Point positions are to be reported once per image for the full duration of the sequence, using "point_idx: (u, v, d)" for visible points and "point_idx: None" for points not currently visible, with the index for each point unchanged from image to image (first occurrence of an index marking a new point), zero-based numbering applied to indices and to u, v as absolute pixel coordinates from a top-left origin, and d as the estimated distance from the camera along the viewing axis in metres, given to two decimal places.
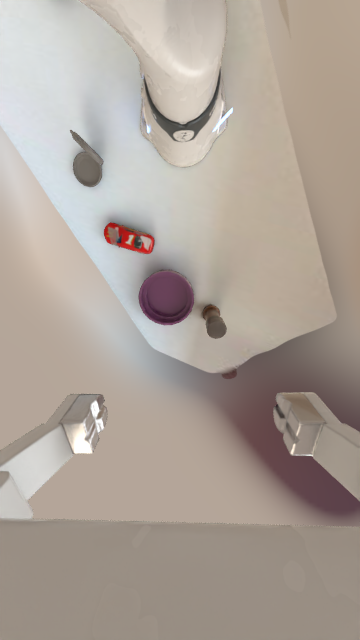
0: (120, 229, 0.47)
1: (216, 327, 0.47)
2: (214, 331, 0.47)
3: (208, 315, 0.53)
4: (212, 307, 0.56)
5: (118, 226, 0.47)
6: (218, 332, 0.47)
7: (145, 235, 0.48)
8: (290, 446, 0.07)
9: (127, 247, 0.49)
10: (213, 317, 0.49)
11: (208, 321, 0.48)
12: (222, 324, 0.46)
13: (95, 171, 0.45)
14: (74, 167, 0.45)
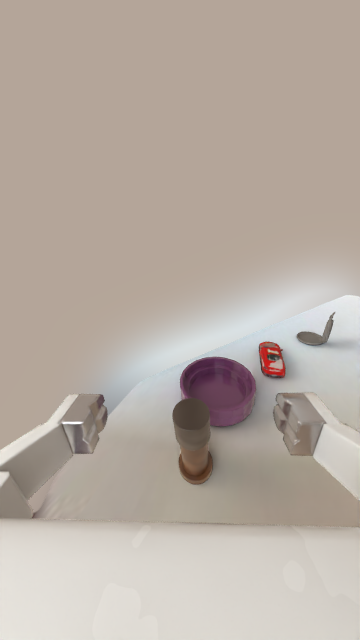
0: (277, 348, 0.49)
1: (196, 411, 0.24)
2: (187, 409, 0.25)
3: None
4: (210, 461, 0.29)
5: (279, 348, 0.50)
6: (185, 416, 0.24)
7: (283, 364, 0.44)
8: (290, 446, 0.07)
9: (263, 352, 0.48)
10: None
11: None
12: (203, 421, 0.23)
13: (312, 342, 0.55)
14: (305, 332, 0.59)
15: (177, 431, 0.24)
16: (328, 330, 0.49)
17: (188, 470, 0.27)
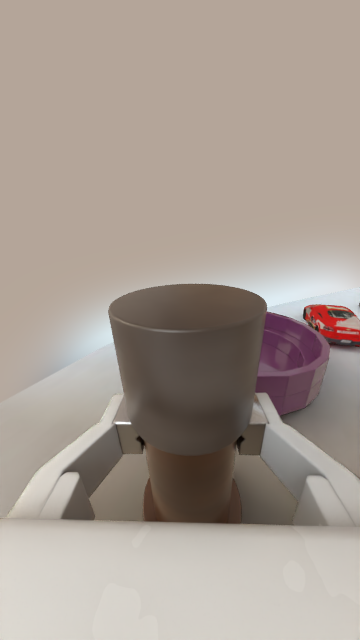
0: None
1: (207, 297, 0.06)
2: (175, 294, 0.07)
3: None
4: (234, 501, 0.10)
5: None
6: (163, 303, 0.06)
7: None
8: (238, 445, 0.08)
9: (316, 311, 0.29)
10: None
11: None
12: (244, 310, 0.05)
13: None
14: None
15: (119, 358, 0.05)
16: None
17: None
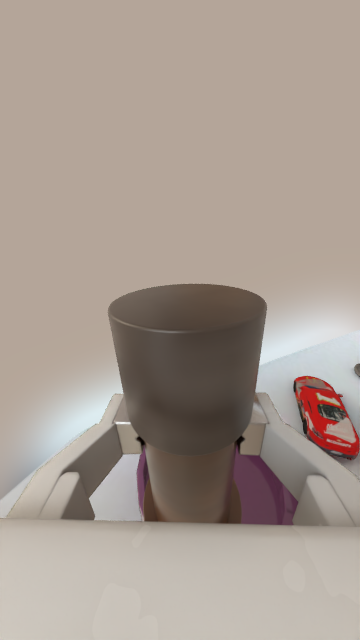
0: (332, 391, 0.27)
1: (207, 297, 0.06)
2: (175, 294, 0.07)
3: None
4: (234, 501, 0.10)
5: (334, 391, 0.28)
6: (163, 303, 0.06)
7: (355, 431, 0.22)
8: (239, 445, 0.08)
9: (306, 397, 0.27)
10: None
11: None
12: (244, 310, 0.05)
13: None
14: None
15: (119, 359, 0.05)
16: None
17: None
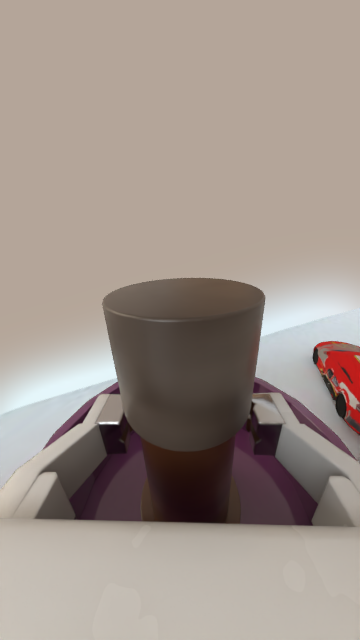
0: None
1: (204, 289, 0.06)
2: (172, 287, 0.07)
3: None
4: (233, 499, 0.10)
5: None
6: (159, 295, 0.06)
7: None
8: (253, 446, 0.07)
9: (338, 363, 0.18)
10: None
11: None
12: (241, 301, 0.05)
13: None
14: None
15: (114, 352, 0.05)
16: None
17: None
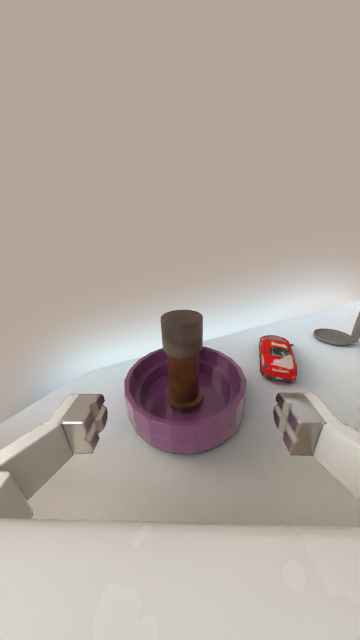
0: None
1: (187, 316, 0.22)
2: (178, 314, 0.22)
3: None
4: (201, 392, 0.25)
5: (288, 343, 0.35)
6: (175, 318, 0.21)
7: (294, 363, 0.28)
8: (290, 446, 0.07)
9: (264, 346, 0.33)
10: None
11: None
12: (195, 320, 0.20)
13: (336, 341, 0.39)
14: (325, 330, 0.43)
15: (164, 332, 0.21)
16: None
17: (175, 395, 0.24)
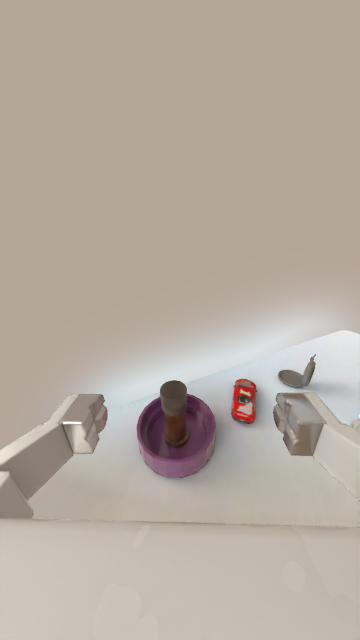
0: (252, 388, 0.47)
1: (177, 388, 0.34)
2: (171, 387, 0.35)
3: None
4: (187, 432, 0.38)
5: (254, 388, 0.47)
6: (169, 391, 0.34)
7: (253, 409, 0.41)
8: (290, 446, 0.07)
9: (235, 392, 0.46)
10: None
11: None
12: (181, 394, 0.33)
13: (293, 383, 0.52)
14: (288, 371, 0.56)
15: (162, 401, 0.33)
16: (307, 373, 0.47)
17: (169, 436, 0.37)
